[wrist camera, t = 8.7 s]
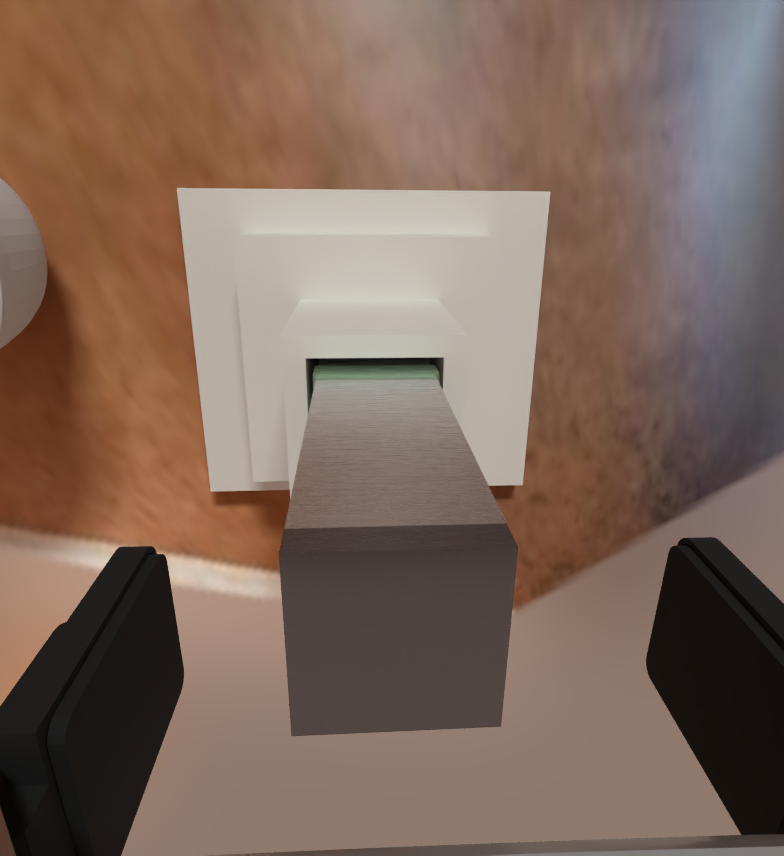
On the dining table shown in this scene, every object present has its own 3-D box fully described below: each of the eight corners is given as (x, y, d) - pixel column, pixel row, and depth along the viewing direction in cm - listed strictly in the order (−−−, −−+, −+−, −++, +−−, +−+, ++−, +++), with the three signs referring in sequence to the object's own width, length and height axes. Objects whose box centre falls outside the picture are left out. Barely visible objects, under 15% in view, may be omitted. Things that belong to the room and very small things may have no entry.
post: (419, 334, 26) (524, 541, 10) (417, 425, 27) (505, 730, 11) (321, 335, 25) (272, 548, 10) (325, 427, 27) (286, 740, 11)
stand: (543, 192, 30) (666, 185, 18) (517, 476, 36) (599, 612, 24) (183, 188, 29) (66, 179, 17) (215, 482, 35) (143, 627, 23)
